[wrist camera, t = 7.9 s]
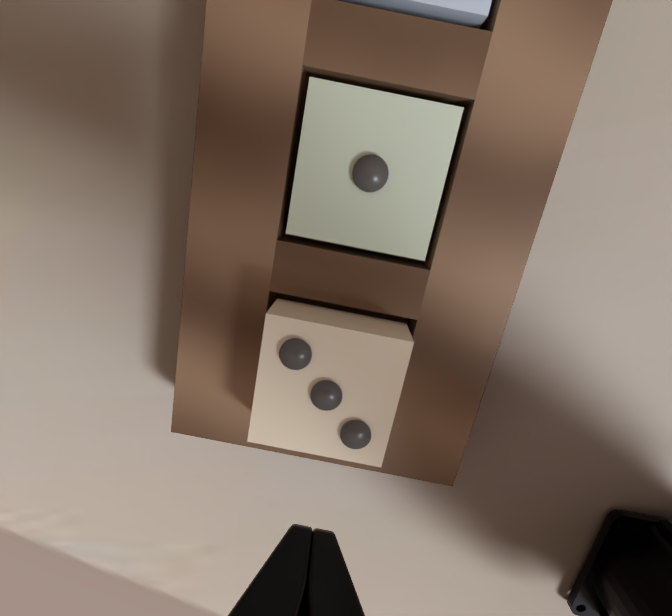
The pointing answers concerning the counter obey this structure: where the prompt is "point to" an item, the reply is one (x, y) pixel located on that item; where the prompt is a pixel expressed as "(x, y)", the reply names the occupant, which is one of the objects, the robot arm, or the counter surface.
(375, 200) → the tile
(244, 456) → the counter surface
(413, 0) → the tile
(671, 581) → the robot arm
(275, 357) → the tile
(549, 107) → the board
